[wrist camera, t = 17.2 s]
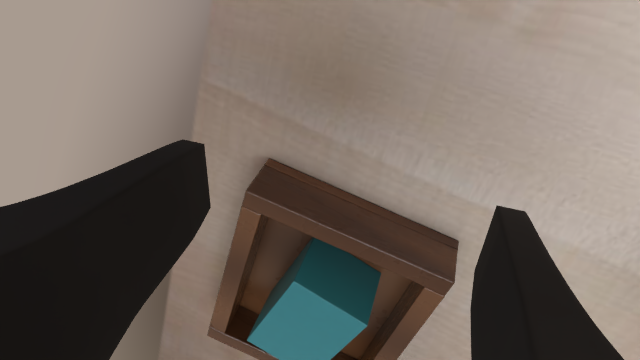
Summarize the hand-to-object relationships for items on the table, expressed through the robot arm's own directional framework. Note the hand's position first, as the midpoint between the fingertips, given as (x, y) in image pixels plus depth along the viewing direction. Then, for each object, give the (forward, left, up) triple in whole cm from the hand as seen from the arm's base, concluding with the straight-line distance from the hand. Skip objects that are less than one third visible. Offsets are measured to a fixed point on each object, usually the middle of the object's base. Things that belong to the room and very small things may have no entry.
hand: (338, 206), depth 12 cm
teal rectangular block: (-3, -13, -9) cm, 16 cm away
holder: (-3, -13, -9) cm, 16 cm away
